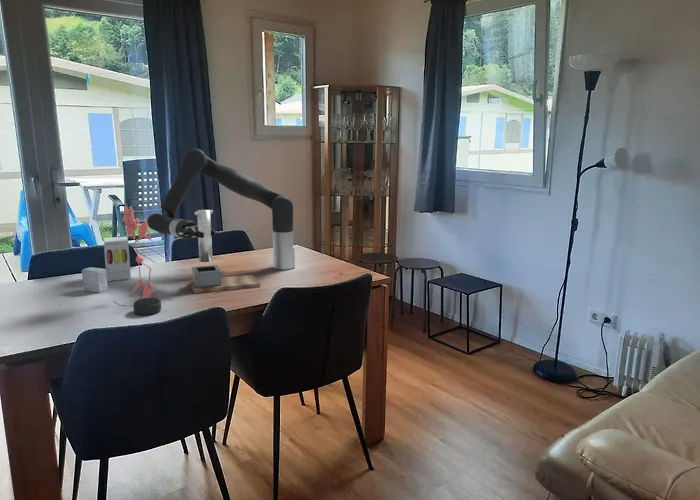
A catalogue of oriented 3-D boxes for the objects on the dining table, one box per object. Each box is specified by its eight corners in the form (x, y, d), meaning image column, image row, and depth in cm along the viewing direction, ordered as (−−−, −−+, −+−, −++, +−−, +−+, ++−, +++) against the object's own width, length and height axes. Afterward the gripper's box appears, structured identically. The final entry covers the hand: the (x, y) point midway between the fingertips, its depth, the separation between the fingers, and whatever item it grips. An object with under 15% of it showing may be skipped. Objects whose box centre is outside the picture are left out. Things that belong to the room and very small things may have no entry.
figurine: (144, 286, 211) (135, 199, 203) (167, 303, 191) (158, 208, 183) (103, 294, 202) (92, 203, 193) (123, 312, 182) (112, 212, 174)
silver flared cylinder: (210, 257, 214) (208, 208, 210) (218, 259, 211) (216, 210, 207) (193, 261, 208) (190, 211, 203) (200, 263, 205) (198, 212, 200)
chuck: (217, 279, 218) (217, 265, 216) (221, 285, 209) (220, 270, 207) (192, 281, 214) (191, 267, 213) (195, 288, 205) (194, 273, 204)
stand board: (252, 278, 225) (252, 274, 225) (260, 286, 213) (260, 283, 213) (189, 283, 216) (189, 280, 216) (193, 293, 203) (193, 289, 203)
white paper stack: (108, 290, 206) (106, 268, 204) (99, 293, 202) (97, 271, 200) (92, 288, 209) (90, 266, 207) (83, 291, 205) (81, 269, 203)
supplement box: (106, 281, 218) (102, 241, 214) (106, 276, 226) (103, 237, 222) (131, 279, 222) (128, 240, 218) (130, 273, 230) (127, 236, 226)
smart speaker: (157, 316, 179) (157, 304, 178) (130, 316, 178) (129, 305, 177) (164, 307, 187) (163, 296, 186) (138, 308, 186) (137, 297, 185)
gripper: (166, 221, 209) (193, 227, 199) (197, 217, 220) (223, 222, 210) (168, 240, 211) (194, 246, 201) (198, 235, 222) (224, 240, 212)
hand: (208, 234), depth 206 cm, fingers closed on silver flared cylinder, 5 cm apart
